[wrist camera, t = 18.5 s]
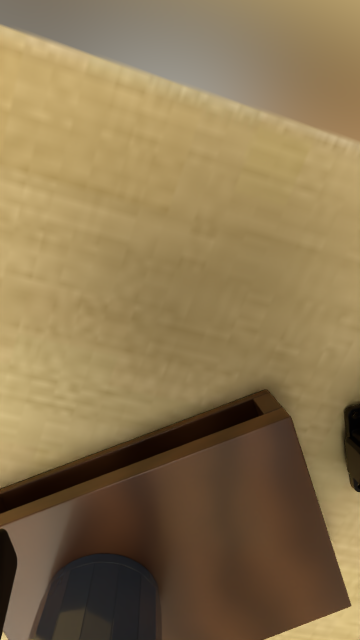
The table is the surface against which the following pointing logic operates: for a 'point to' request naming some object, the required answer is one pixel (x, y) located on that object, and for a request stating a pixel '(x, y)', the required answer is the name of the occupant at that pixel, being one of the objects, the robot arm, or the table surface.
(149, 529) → the shelf
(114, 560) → the tall drinking tumbler
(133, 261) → the table surface
